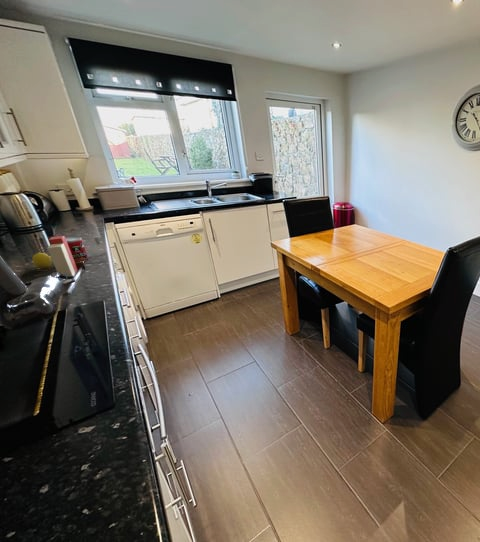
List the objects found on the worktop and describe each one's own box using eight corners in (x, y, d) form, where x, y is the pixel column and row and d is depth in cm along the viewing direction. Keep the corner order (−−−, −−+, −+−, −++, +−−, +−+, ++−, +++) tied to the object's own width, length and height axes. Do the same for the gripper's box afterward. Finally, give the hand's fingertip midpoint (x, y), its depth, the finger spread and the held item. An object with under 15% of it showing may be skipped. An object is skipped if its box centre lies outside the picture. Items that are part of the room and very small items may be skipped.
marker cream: (60, 280, 114) (47, 247, 108) (63, 276, 118) (50, 244, 112) (73, 278, 116) (60, 246, 111) (75, 274, 120) (63, 243, 114)
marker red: (63, 276, 118) (48, 239, 111) (66, 272, 121) (51, 236, 115) (75, 274, 120) (61, 238, 114) (78, 270, 123) (64, 235, 117)
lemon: (49, 270, 125) (42, 254, 122) (33, 271, 124) (25, 254, 121) (57, 266, 130) (50, 250, 127) (42, 267, 129) (35, 250, 126)
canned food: (70, 264, 133) (61, 242, 128) (65, 261, 137) (56, 239, 132) (91, 260, 139) (83, 238, 134) (86, 256, 143) (78, 235, 138)
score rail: (43, 301, 101) (38, 290, 99) (62, 273, 123) (58, 264, 122) (73, 295, 105) (69, 285, 104) (86, 269, 128) (83, 261, 126)
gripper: (67, 277, 95) (77, 261, 108) (9, 286, 88) (26, 268, 101) (75, 296, 98) (83, 279, 111) (19, 306, 91) (35, 287, 104)
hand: (56, 274), depth 106 cm, fingers closed
